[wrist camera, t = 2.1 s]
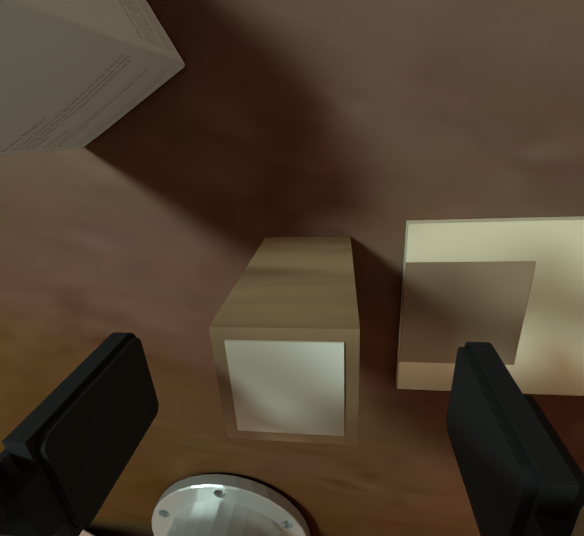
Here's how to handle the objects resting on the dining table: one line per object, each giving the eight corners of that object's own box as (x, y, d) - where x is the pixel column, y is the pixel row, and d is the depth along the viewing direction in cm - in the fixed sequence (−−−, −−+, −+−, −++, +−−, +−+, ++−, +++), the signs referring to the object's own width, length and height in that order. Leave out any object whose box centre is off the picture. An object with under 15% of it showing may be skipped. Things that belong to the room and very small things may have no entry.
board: (698, 392, 19) (711, 401, 19) (395, 382, 21) (397, 390, 21) (783, 211, 16) (802, 215, 15) (406, 220, 18) (408, 224, 17)
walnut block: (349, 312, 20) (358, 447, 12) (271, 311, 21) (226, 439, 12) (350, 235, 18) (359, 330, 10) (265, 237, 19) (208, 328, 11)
